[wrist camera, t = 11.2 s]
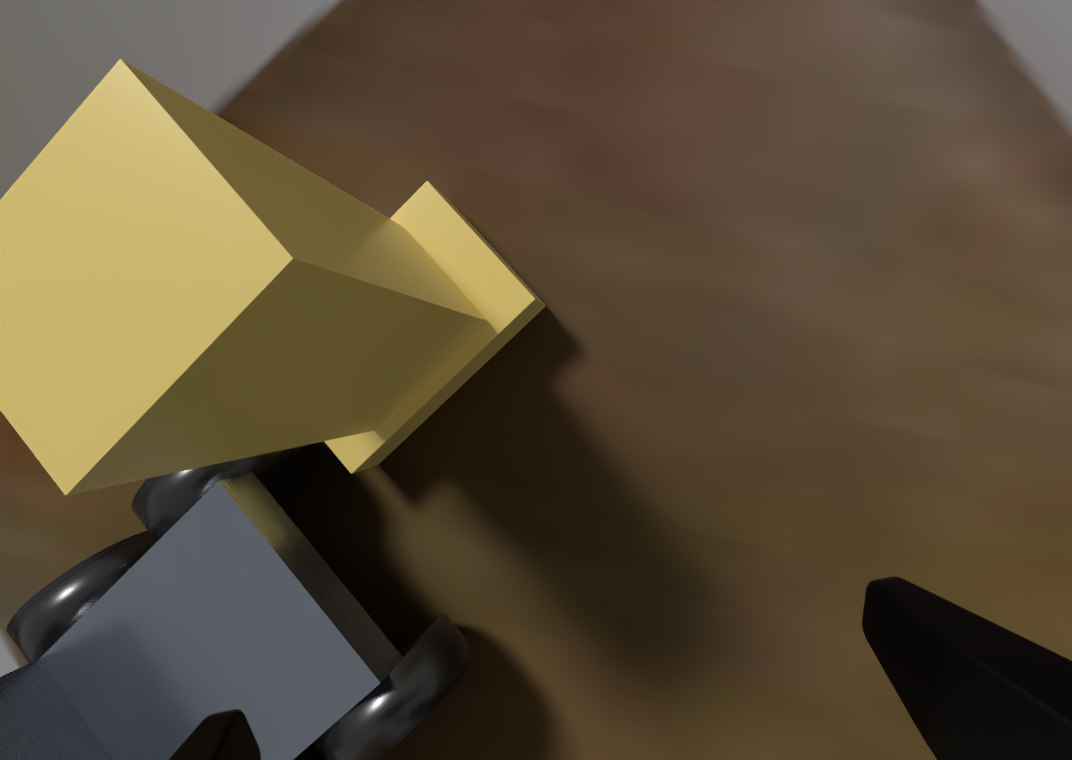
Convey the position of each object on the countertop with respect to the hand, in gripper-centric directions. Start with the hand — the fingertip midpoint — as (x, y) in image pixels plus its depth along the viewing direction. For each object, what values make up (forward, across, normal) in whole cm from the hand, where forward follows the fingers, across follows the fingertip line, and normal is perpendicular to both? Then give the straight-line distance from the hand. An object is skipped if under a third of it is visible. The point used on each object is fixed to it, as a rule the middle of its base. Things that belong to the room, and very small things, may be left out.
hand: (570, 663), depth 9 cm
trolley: (+12, +9, +8) cm, 17 cm away
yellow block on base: (+14, +3, -1) cm, 15 cm away
